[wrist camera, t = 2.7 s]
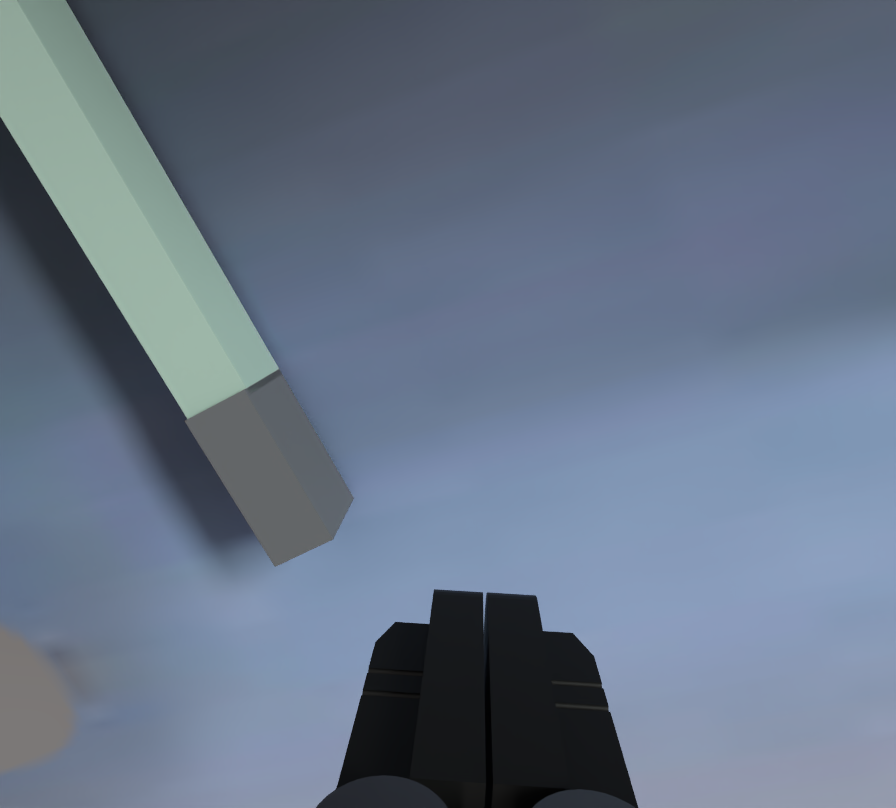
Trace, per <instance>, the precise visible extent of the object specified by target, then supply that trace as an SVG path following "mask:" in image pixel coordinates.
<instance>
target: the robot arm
mask: <svg viewBox="0 0 896 808" xmlns="http://www.w3.org/2000/svg"><path fill="white" fill-rule="evenodd" d="M316 808H638V805H637V802H636V798H635V795H634V792H633V788H632V785H631V781H630V778H629V774H628V771H627V768H626V764H625V761H624V757H623V754H622V751H621V747H620V744H619V740H618V737H617V733H616V730H615V727H614V723H613V720H612V716H611V713H610V712H609V711H608V703H607V699H606V696H605V692H604V689H603V688H602V682H601V679H600V675H599V672H598V669H597V665H596V662H595V658H594V656H593V655H592V654H591V653H590V651H589V650H588V649H587V648H586V647H585V646H584V645H583V644H582V643H581V642H580V641H579V639H578V638H577V637H576V636H575V635H574V634H573V633H563V632H547V631H543V630H542V624H541V618H540V613H539V607H538V601H537V597H536V596H535V595H519V594H503V593H487V595H486V605H485V620H484V630H483V592H468V591H452V590H435V589H434V594H433V601H432V609H431V617H430V624H419V623H403V622H395V623H394V624H393V625H392V626H391V627H390V628H389V629H388V630H387V631H386V632H385V633H384V634H383V635H382V636H381V637H380V638H379V639H378V640H377V641H376V642H375V646H374V650H373V653H372V657H371V661H370V665H369V671H368V673H367V676H366V680H365V684H364V687H363V694H362V695H361V699H360V702H359V706H358V710H357V714H356V718H355V721H354V725H353V729H352V733H351V736H350V740H349V744H348V748H347V751H346V755H345V759H344V763H343V767H342V770H341V774H340V778H339V782H338V785H337V788H336V790H334V791H333V792H332V793H330V794H329V795H328V796H326V797H325V798H324V799H323V800H322V801H321V802H320V803H319V804H318V806H317V807H316Z"/></svg>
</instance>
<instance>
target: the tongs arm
mask: <svg viewBox="0 0 896 808" xmlns="http://www.w3.org/2000/svg"><path fill="white" fill-rule="evenodd" d="M0 117H1V118H2V120H3V122H4V123H5V125H6V127H7V128H8V130H9V131H10V133H11V135H12V136H13V138H14V139H15V141H16V143H17V144H18V146H19V148H20V149H21V151H22V152H23V154H24V156H25V157H26V159H27V160H28V162H29V164H30V165H31V167H32V169H33V170H34V172H35V173H36V175H37V177H38V178H39V180H40V181H41V183H42V185H43V186H44V188H45V190H46V191H47V193H48V194H49V196H50V198H51V199H52V201H53V203H54V204H55V206H56V207H57V209H58V211H59V212H60V214H61V215H62V217H63V219H64V220H65V222H66V224H67V225H68V227H69V228H70V230H71V232H72V233H73V235H74V236H75V238H76V240H77V241H78V243H79V245H80V246H81V248H82V249H83V251H84V253H85V254H86V256H87V257H88V259H89V261H90V262H91V264H92V266H93V267H94V269H95V270H96V272H97V274H98V275H99V277H100V278H101V280H102V282H103V283H104V285H105V287H106V288H107V290H108V291H109V293H110V295H111V296H112V298H113V299H114V301H115V303H116V304H117V306H118V308H119V309H120V311H121V312H122V314H123V316H124V317H125V319H126V320H127V322H128V324H129V325H130V327H131V329H132V330H133V332H134V333H135V335H136V337H137V338H138V340H139V341H140V343H141V345H142V346H143V348H144V350H145V351H146V353H147V354H148V356H149V358H150V359H151V361H152V362H153V364H154V366H155V367H156V369H157V371H158V372H159V374H160V375H161V377H162V379H163V380H164V382H165V383H166V385H167V387H168V388H169V390H170V392H171V393H172V395H173V396H174V398H175V400H176V401H177V403H178V404H179V406H180V408H181V409H182V411H183V413H184V414H185V416H186V417H187V420H185V423H186V424H187V426H188V427H189V429H190V431H191V432H192V434H193V436H194V437H195V439H196V440H197V442H198V444H199V445H200V447H201V448H202V450H203V452H204V453H205V455H206V456H207V458H208V460H209V461H210V463H211V465H212V466H213V468H214V469H215V471H216V473H217V474H218V476H219V477H220V479H221V481H222V482H223V484H224V485H225V487H226V489H227V490H228V492H229V494H230V495H231V497H232V498H233V500H234V502H235V503H236V505H237V506H238V508H239V510H240V511H241V513H242V514H243V516H244V518H245V519H246V521H247V523H248V524H249V526H250V527H251V529H252V531H253V532H254V534H255V535H256V537H257V539H258V540H259V542H260V544H261V545H262V547H263V548H264V550H265V552H266V553H267V555H268V556H269V558H270V560H271V561H272V563H273V564H274V566H275V567H276V566H278V565H280V564H282V563H284V562H286V561H288V560H290V559H293V558H295V557H297V556H299V555H301V554H303V553H305V552H307V551H309V550H312V549H314V548H316V547H318V546H320V545H322V544H324V543H326V542H328V541H331V540H333V538H334V537H335V535H336V533H337V531H338V529H339V527H340V525H341V523H342V521H343V519H344V517H345V515H346V513H347V511H348V509H349V507H350V505H351V503H352V501H353V499H354V498H353V496H352V494H351V492H350V491H349V489H348V487H347V485H346V484H345V482H344V480H343V479H342V477H341V475H340V473H339V472H338V470H337V468H336V466H335V465H334V463H333V461H332V460H331V458H330V456H329V454H328V453H327V451H326V449H325V447H324V446H323V444H322V442H321V441H320V439H319V437H318V435H317V434H316V432H315V430H314V428H313V427H312V425H311V423H310V422H309V420H308V418H307V416H306V415H305V413H304V411H303V409H302V408H301V406H300V404H299V403H298V401H297V399H296V397H295V396H294V394H293V392H292V390H291V389H290V387H289V385H288V384H287V382H286V380H285V378H284V377H283V375H282V373H281V371H280V370H279V368H278V366H277V365H276V363H275V361H274V359H273V358H272V356H271V354H270V352H269V351H268V349H267V347H266V346H265V344H264V342H263V340H262V339H261V337H260V335H259V333H258V332H257V330H256V328H255V327H254V325H253V323H252V321H251V320H250V318H249V316H248V314H247V313H246V311H245V309H244V308H243V306H242V304H241V302H240V301H239V299H238V297H237V295H236V294H235V292H234V290H233V289H232V287H231V285H230V283H229V282H228V280H227V278H226V276H225V275H224V273H223V271H222V270H221V268H220V266H219V264H218V263H217V261H216V259H215V257H214V256H213V254H212V252H211V251H210V249H209V247H208V245H207V244H206V242H205V240H204V238H203V237H202V235H201V233H200V232H199V230H198V228H197V226H196V225H195V223H194V221H193V219H192V218H191V216H190V214H189V212H188V211H187V209H186V207H185V206H184V204H183V202H182V200H181V199H180V197H179V195H178V193H177V192H176V190H175V188H174V187H173V185H172V183H171V181H170V180H169V178H168V176H167V174H166V173H165V171H164V169H163V168H162V166H161V164H160V162H159V161H158V159H157V157H156V155H155V154H154V152H153V150H152V149H151V147H150V145H149V143H148V142H147V140H146V138H145V136H144V135H143V133H142V131H141V130H140V128H139V126H138V124H137V123H136V121H135V119H134V117H133V116H132V114H131V112H130V111H129V109H128V107H127V105H126V104H125V102H124V100H123V98H122V97H121V95H120V93H119V92H118V90H117V88H116V86H115V85H114V83H113V81H112V79H111V78H110V76H109V74H108V73H107V71H106V69H105V67H104V66H103V64H102V62H101V60H100V59H99V57H98V55H97V54H96V52H95V50H94V48H93V47H92V45H91V43H90V41H89V40H88V38H87V36H86V35H85V33H84V31H83V29H82V28H81V26H80V24H79V22H78V21H77V19H76V17H75V16H74V14H73V12H72V10H71V9H70V7H69V5H68V3H67V2H66V0H0Z"/></svg>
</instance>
